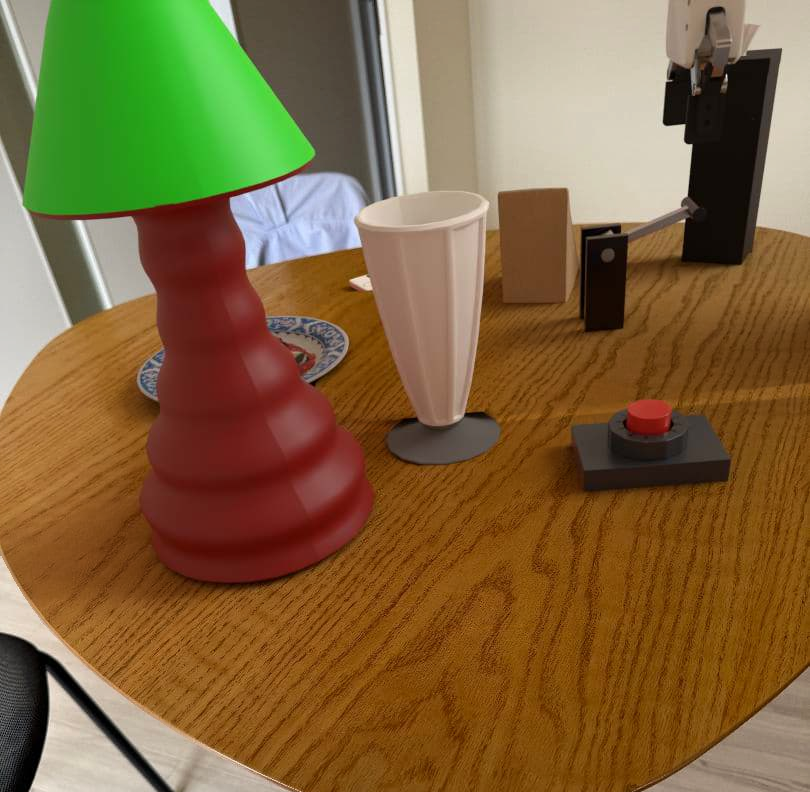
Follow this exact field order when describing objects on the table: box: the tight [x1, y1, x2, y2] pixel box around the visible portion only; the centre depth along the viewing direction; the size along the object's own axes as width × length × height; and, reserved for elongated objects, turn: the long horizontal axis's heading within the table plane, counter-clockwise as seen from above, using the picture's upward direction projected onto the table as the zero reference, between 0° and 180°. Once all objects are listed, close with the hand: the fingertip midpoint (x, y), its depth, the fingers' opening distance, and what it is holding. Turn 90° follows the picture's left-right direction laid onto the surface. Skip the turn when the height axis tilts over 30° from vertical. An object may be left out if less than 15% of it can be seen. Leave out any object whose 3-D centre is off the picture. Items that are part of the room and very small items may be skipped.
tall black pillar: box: [681, 23, 783, 266], centre depth 99 cm, size 8×8×28 cm
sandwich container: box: [497, 187, 580, 304], centre depth 102 cm, size 9×15×15 cm, turn 163°
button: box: [626, 398, 672, 436], centre depth 67 cm, size 4×4×2 cm
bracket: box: [578, 222, 629, 333], centre depth 90 cm, size 12×8×12 cm, turn 88°
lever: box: [597, 195, 706, 244], centre depth 86 cm, size 12×5×2 cm, turn 88°
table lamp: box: [22, 0, 375, 584], centre depth 56 cm, size 20×20×45 cm
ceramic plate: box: [136, 315, 350, 403], centre depth 95 cm, size 26×26×3 cm
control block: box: [570, 407, 732, 493], centre depth 68 cm, size 12×8×4 cm, turn 88°
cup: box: [353, 190, 502, 466], centre depth 71 cm, size 12×12×22 cm
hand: (689, 133), depth 77 cm, fingers open, 9 cm apart
